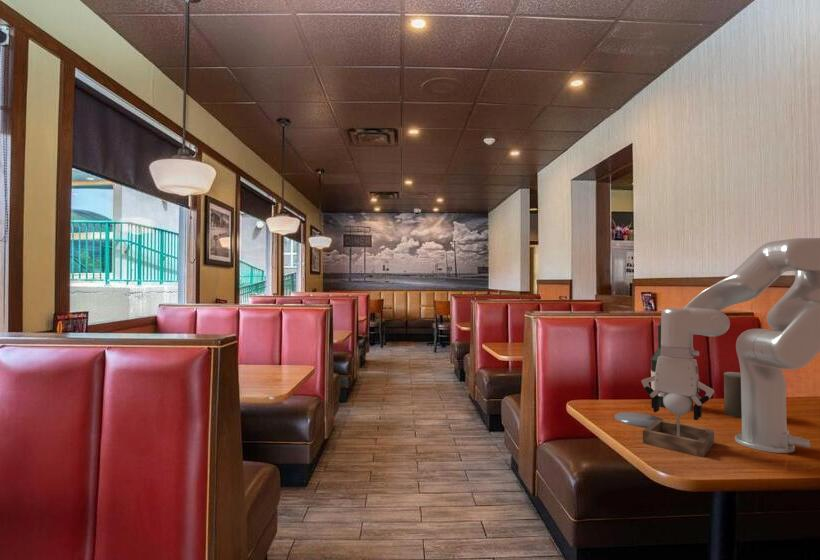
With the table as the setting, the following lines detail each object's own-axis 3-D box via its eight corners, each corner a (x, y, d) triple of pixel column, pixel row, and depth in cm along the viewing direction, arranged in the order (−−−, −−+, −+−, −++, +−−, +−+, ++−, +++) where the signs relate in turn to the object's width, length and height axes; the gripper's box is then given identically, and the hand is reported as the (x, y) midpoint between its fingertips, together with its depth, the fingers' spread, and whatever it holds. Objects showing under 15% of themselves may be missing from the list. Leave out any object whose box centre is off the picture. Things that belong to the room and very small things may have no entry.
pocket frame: (714, 442, 118) (713, 430, 118) (703, 457, 108) (703, 443, 108) (657, 431, 128) (657, 419, 128) (642, 443, 118) (642, 430, 118)
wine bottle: (682, 409, 151) (681, 324, 152) (659, 409, 151) (657, 324, 152) (669, 402, 160) (667, 322, 160) (646, 402, 160) (645, 322, 160)
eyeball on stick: (685, 439, 121) (684, 385, 121) (699, 448, 114) (698, 391, 114) (658, 438, 122) (657, 385, 122) (671, 447, 115) (670, 391, 115)
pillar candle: (746, 420, 138) (745, 374, 138) (717, 412, 147) (716, 368, 148) (768, 418, 140) (767, 372, 141) (738, 410, 150) (737, 367, 150)
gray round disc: (669, 420, 138) (669, 418, 138) (657, 431, 128) (657, 428, 128) (623, 412, 147) (623, 409, 148) (608, 421, 137) (608, 418, 137)
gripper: (717, 355, 115) (716, 419, 115) (646, 348, 127) (645, 406, 127) (711, 358, 110) (711, 425, 109) (638, 350, 122) (637, 411, 121)
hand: (675, 415), depth 118 cm, fingers open, 9 cm apart
